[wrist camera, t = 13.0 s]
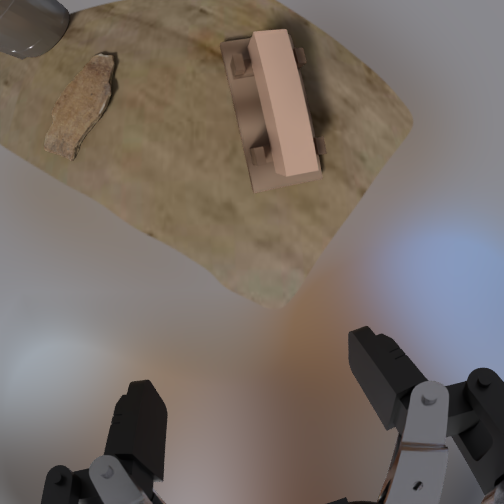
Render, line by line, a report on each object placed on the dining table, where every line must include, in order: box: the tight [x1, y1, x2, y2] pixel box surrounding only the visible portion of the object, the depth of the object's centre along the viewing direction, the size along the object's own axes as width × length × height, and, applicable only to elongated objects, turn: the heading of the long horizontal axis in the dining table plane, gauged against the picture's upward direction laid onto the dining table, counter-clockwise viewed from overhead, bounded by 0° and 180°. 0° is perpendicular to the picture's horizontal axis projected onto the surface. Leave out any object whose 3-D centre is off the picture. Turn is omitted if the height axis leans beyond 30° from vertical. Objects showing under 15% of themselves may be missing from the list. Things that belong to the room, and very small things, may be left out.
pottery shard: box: [44, 53, 115, 161], centre depth 28 cm, size 8×3×15 cm
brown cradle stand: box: [220, 34, 327, 193], centre depth 30 cm, size 20×9×6 cm, turn 12°
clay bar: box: [248, 29, 319, 177], centre depth 27 cm, size 4×16×5 cm, turn 12°
